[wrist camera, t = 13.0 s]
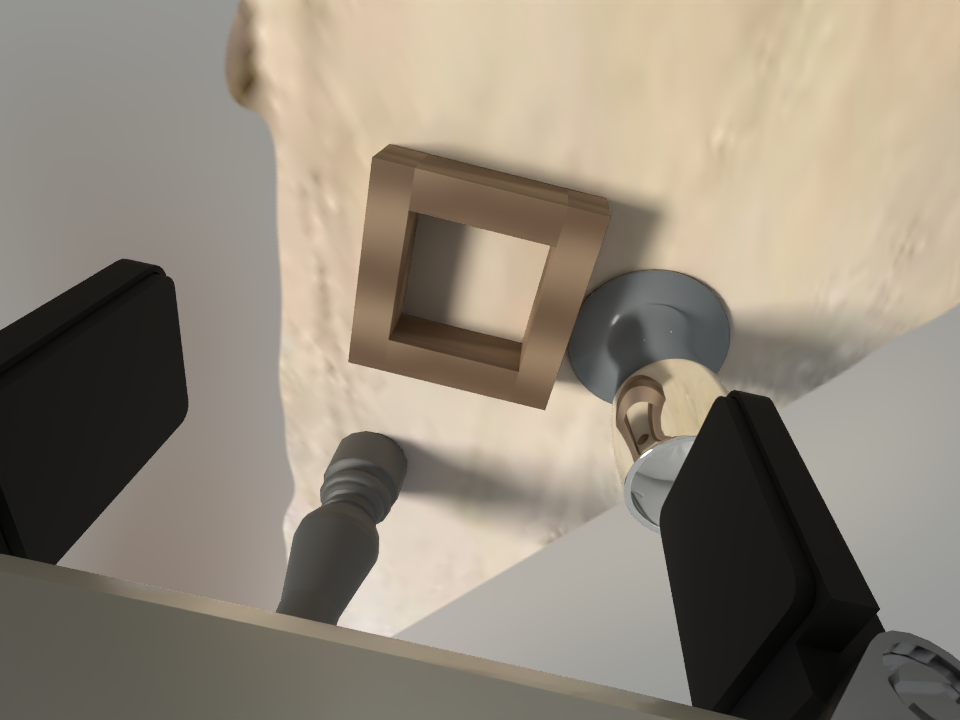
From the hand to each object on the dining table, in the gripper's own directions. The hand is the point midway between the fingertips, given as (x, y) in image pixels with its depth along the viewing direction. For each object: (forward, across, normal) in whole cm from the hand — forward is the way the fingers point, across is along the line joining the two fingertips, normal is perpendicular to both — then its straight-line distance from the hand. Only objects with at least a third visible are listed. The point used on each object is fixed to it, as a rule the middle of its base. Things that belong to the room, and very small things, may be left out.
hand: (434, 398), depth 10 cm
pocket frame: (+29, +1, +11) cm, 31 cm away
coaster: (+29, -12, +13) cm, 34 cm away
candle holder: (+29, +7, +29) cm, 42 cm away
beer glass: (+29, -12, +13) cm, 34 cm away
